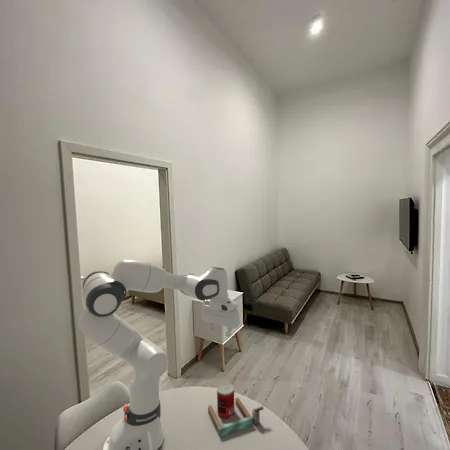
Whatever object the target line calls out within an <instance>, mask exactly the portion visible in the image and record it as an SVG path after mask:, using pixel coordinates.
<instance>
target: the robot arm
mask: <svg viewBox="0 0 450 450" xmlns="http://www.w3.org/2000/svg"><path fill="white" fill-rule="evenodd" d="M228 279H229V278H228V273H227V270H226V269H225V268H224V267H223V268H222V267H217V266H212V267H209V268H208V270H207V271H206V272H205V273H204V274H202V275H197V274H194V273H187V274H183V275H181V274H176V273H171V272H167V271H166V269H165V268H164V267H162V266H161V265H158V264H155V263H153V262H148V261H144V260H137V259H122V260H120V261H118V262H117V263H116V264H115V266H114V268H113V270H112V272H111V273H108V272H107V271H104V270H97V271H92V272H91V273H89V274H88V275H87V276H86V277H85V278H84V281H83V283H82V297H83V299H84V302H85V306H86V308H85V309H84V310H83V312H81V314H80V316H79V318H78V321H77V325H78V328H79V330H81V332H82V333H83V334H84V335H85V336H86V337H87V338H88V339H89V340H90V341H92V342H93V343H94V344H96V345H97V346H99V347H100V348H101V349H103V350H105V351H106V352H108V353H109V354H110V355H112V356H115V357H117V358H118V359H120V360H122V361H123V362H125V363H126V364H128V365H129V367H131V368H132V370H133V371H134V380H133V382H132V383H131V385H130V387H129V404H128V403H125V404H123V406H122V407H123V412H124V413H123V416H124V417H123V418H122V419H120V420H119V421H118V422H116V423H115V425H114V426H113V427H112V429H111V432H110V434H109V436H108V437H107V438H106V440H105V442H104V444H103V447H102V450H158V449H159V448H160V447H161V446H162V444H163V442H164V439H165V434H164V431H163V428H162V422H161V421H162V420H161V417H162V415H161V414H162V408H161V407H162V405H161V401H160V400H161V399H160V381H161V377H162V376H163V375H164V374H165V373H166V372H167V369H168V366H169V358H168V356H167V353H166V352H165V351H164V349H162V347H160V346H158V345H157V344H156V343H154V342H153V341H151V340H150V339H148V338H147V337H145V336H144V335H143V334H142V333H140V332H139V331H138V330H137V329H136V328H135V327H134V326H132V325H131V324H129V323H128V322H127V321H125V320H124V319H123V318H122V317H121V316H119V315H118V314H117V313H115V312H117V310H119V308H120V306H121V304H122V302H123V301H124V299H125V298H126V296H127V294H128V292H127V291H135V292H139V293H151V294H152V293H153V294H155V293H159V292H160V291H162V290H163V288H167V289H172V290H173V289H174V290H178V291H179V292H180V293H182V294H183V295H185V296H188V297H192V298H193V299H196V300H198V301H202V303H201V312H200V313H201V315H200V317H201V320H202V321H204V322H207V325H208V328H209V332H211V333H214V332H215V331H216V328H215V326H214V325H213V324H215V325H219V326H223V327H225V328H227V331H226V332H225V337H228V338H229V337H231V336H232V335H231V334H232V333H231V332H232V331H233V329H237V328H238V327H239V326H240V325H241V324H240V323H241V321H240V312H239V310H238V309H239V304H238V302H236V301H234V300H233V299H232V298H229V292H228V287H229V284H228V281H229V280H228Z"/></svg>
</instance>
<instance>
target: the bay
mask: <svg viewBox="0 0 450 450" xmlns="http://www.w3.org/2000/svg"><path fill="white" fill-rule="evenodd" d="M234 404H235V406H236V408H237V409H238V411H239V412H240V415H241V416H242V417H243V418H241V419H238V420H235V421H231V422H228V423H225V424H223V425H221V422H220V420H219V418H218V416H217V414H216V413H215V410H214V409H213V406H212V405H208V406H207V414H208V416H209V418H210V420H211V422H212V425H213V427H214V428H215V430H216V431H215V432H216V433H217V435H218V437H219V438H220V437H223V436H226V435H230V434H232V433H236V432H239V431H241V430H244V429H246V428H249V427H253V426H255V427H256V426H259V425H260V423H261V422H260V421H261V420H260V411H263V410H264V407H263V406H260V407H259V406H258V407H257V408H253V409H252V416H251V414H250V412H249V410H247V408H246V406H245V405H244V404H243V403H242V401H241V399H240V398H239V397H234Z"/></svg>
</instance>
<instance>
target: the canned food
mask: <svg viewBox="0 0 450 450" xmlns="http://www.w3.org/2000/svg"><path fill="white" fill-rule="evenodd" d="M216 398H217V399H216V402H217V404H216V405H217V414H218V416H219V417H220V418H222V419H230V418H231V417H233V416H234V414H235V387H234V385H233V384H232V383H228V382H224V383H221V384H219V385H218V386H217V388H216Z"/></svg>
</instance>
